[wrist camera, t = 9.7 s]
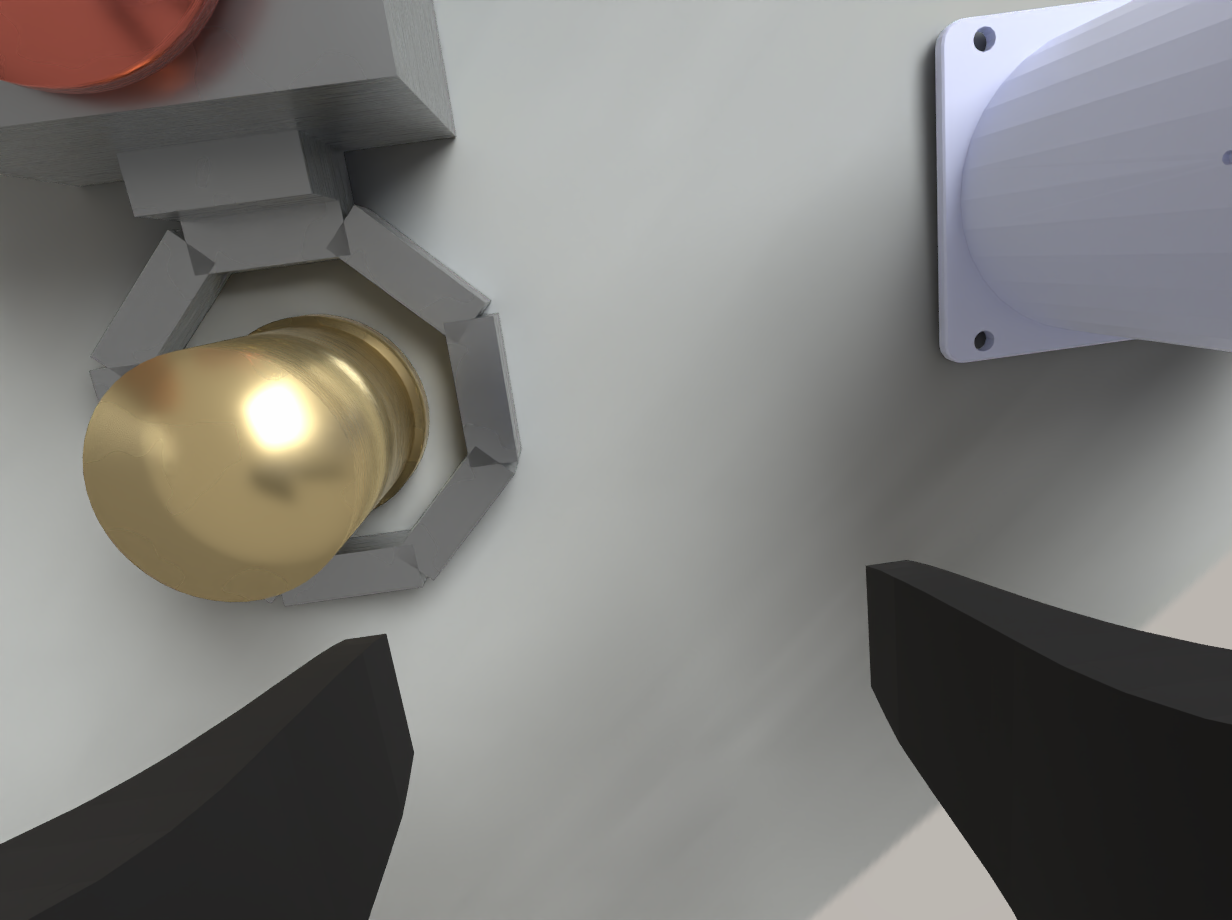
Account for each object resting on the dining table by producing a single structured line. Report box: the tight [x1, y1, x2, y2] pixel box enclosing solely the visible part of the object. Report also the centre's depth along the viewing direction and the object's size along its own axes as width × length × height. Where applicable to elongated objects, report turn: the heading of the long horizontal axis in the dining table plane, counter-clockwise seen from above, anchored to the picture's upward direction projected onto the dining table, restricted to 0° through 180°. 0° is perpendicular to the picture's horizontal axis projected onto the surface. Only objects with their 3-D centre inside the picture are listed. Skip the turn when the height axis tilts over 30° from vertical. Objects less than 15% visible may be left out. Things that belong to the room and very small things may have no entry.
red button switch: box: [0, 0, 521, 606], centre depth 14 cm, size 10×20×7 cm, turn 7°
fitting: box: [83, 314, 430, 602], centre depth 16 cm, size 5×5×6 cm
